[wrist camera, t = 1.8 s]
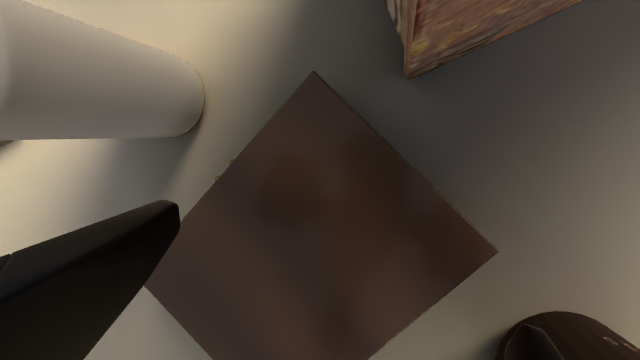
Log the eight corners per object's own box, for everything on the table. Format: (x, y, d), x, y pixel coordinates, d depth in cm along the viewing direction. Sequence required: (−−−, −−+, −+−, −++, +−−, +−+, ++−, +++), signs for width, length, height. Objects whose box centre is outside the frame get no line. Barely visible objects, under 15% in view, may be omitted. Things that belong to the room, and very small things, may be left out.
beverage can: (162, 151, 23) (-92, 170, 11) (124, 83, 23) (-172, 29, 11) (224, 110, 21) (12, 84, 10) (183, 38, 21) (-77, -76, 10)
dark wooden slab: (300, 381, 22) (279, 432, 19) (171, 244, 23) (125, 265, 19) (479, 227, 19) (499, 251, 15) (321, 74, 20) (302, 59, 16)
